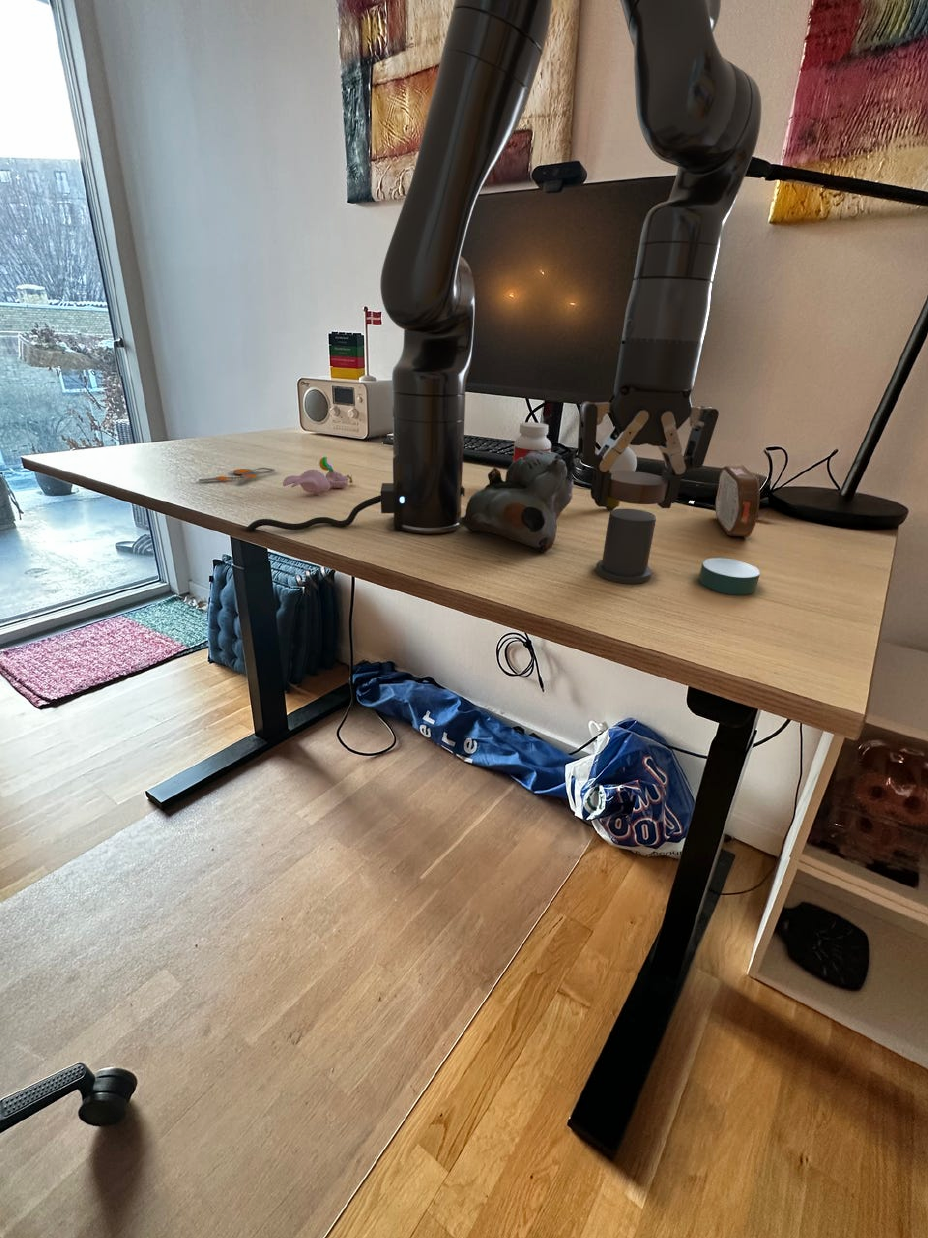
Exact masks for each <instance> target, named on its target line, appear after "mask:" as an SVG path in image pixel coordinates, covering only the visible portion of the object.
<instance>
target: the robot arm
mask: <svg viewBox="0 0 928 1238" xmlns="http://www.w3.org/2000/svg"><path fill="white" fill-rule="evenodd" d="M619 1H620V4H621V8H622V12H623V16H624V20H625V23H626V27H627V31H628V34H629V37H630V40H631V43H632V46H633V49H634V52H633V53H634V55H633V56H634V57H633V59H634V60H633V71H634V89H635V107H636V115H637V116H636V117H637V121H638V125H639V128H640V131H641V134H642V136H643V138H644V141H645V143H646V145H647V146H648V148H649V150H650V151H651V152H652V154H654V155H655V157H656V158H658V159H660V160H661V161H663V162H665V163H668V164H670V165H673V166H676V167H677V172H676V174H675V175H676V176H675V179H674V182H673V185H672V189H671V192H670V193H669V196H668V199H667V201H664V202H661V203H658V204H657V205H655V206H653V207H652V208H651V209H650V210H649V211H648V212H647V213H646V216H645V217H644V220H643V223H642V226H641V230H640V236H639V242H638V249H637V255H636V261H635V268H634V274H633V281H632V285H631V289H630V293H629V296H628V300H627V304H626V309H625V315H624V322H623V328H622V334H621V340H620V346H619V354H618V361H617V366H616V367H617V368H616V372H615V380H614V388H613V392H612V394H611V395H610V397H609V399H608V400H607V401H603V402H592V401H588V400H585V401H582V402H581V403H580V405H579V414H578V416H579V417H578V418H579V419H578V437H577V438H578V439H577V458H578V459H579V460H580V461H581V462H582V463H583V464H585V465H586V466H590V467H592V468H593V472H592V479H591V485H590V486H591V488H590V497H591V499H592V500H593V501H594V503H595V505H596V506H597V507H602V508H606V504H607V499H608V492H609V486H610V480H611V474H612V473H611V472H610V471H609V469H610V468H611V466H612V465H613V464H614V462H615V461H616V459H617V458H618V456H619V455H620V454H622V453H623V452H624V451H625V450H626V448H627V447H629V445H631V446H641V445H646V444H647V445H650V446H653V447H657V448H658V449H659V451H660V452H661V456H662V458H663V462H664V465H665V468H666V469H663V470H662V474H661V477H664V478H666V479H667V480H668V487H667V492H666V496H665V500H664V501H663V502H661V503H656V504H657V506H659V507H660V508H662V509H670V508H671V506H672V504H675V503H676V501H677V499H678V496H679V491H680V486H681V482H682V477H683V475H684V473H685V472H687V471H689V470H693V469H696V470H697V469H700V468H702V467H703V465H704V462H705V459H706V456H707V453H708V450H709V447H710V444H711V441H712V438H713V435H714V431H715V428H716V425H717V423H718V422H717V421H718V419H719V416H720V415H719V414H720V413H719V411H718V409H716V408H713V407H709V406H705V405H701V406H695V405H694V406H693V404H692V401H691V394H692V391H693V389H694V385H695V381H696V376H697V372H698V371H697V370H698V366H699V361H700V356H701V352H702V348H703V347H702V346H703V343H704V342H703V341H704V337H705V335H706V333H707V329H708V326H707V323H708V318H709V313H710V305H711V293H712V287H713V281H714V277H715V276H714V275H715V271H716V267H717V262H718V257H719V252H720V247H721V242H722V241H721V240H722V235H723V230H724V227H725V224H726V222H727V219H728V217H729V215H730V213H731V211H732V209H733V206H734V204H735V202H736V200H737V197H738V195H739V192H740V189H741V187H742V184H743V182H744V179H745V178H746V175H747V171H748V169H749V166H750V164H751V161H752V159H753V156H754V153H755V150H756V147H757V142H758V139H759V134H760V130H761V123H762V97H761V92H760V89H759V86H758V84H757V82H756V81H755V80H754V78H753V77H752V76H751V75H750V74H748V73H747V72H746V71H745V70H743V69H741V68H740V67H738V65H735V64H733V62H731V61H729V60H727V58H725V57H724V56H722V53H721V52H720V49H719V47H718V45H717V42H716V39H715V36H714V31H715V29H716V27H717V24H718V23H719V22H718V21H719V18H720V15H721V7H722V0H619ZM552 5H553V0H454V3H453V6H452V11H451V14H450V20H449V23H448V27H447V32H446V35H445V40H444V44H443V46H442V47H443V48H442V51H441V55H440V61H439V64H438V70H437V74H436V79H435V83H434V88H433V92H432V95H431V99H430V103H429V108H428V111H427V116H426V119H425V123H424V127H423V131H422V136H421V139H420V144H419V149H418V153H417V157H416V162H415V164H414V170H413V173H412V177H411V180H410V183H409V186H408V189H407V192H406V196H405V198H404V201H403V204H402V207H401V211H400V212H399V216H398V219H397V222H396V225H395V227H394V230H393V233H392V235H391V239H390V241H389V245H388V248H387V250H386V253H385V257H384V260H383V264H382V267H381V273H380V280H379V281H380V282H379V285H380V286H379V288H380V296H381V301H382V302H381V303H382V305H383V308H384V310H385V313H386V314H387V316H388V317H389V319H390V320H391V321H392V322H393V323H394V324H395V325H396V326H397V327H398V328H401V329H403V331H404V332H403V348H402V350H401V351H402V352H401V355H400V357H399V359H398V361H397V362H396V364H395V365H394V367H393V368H392V372H391V391H392V392H391V393H392V394H391V395H392V442H393V443H392V446H393V447H392V448H393V449H392V450H393V451H392V453H393V456H392V482H381V487H380V494H379V495H377V496H374V497H372V498H368V499H366V500H364V501H362V502H360V503H359V504H357V505H355V506H354V507H353V508H352V510H351V511H350V512H349V515H348V516H347V518H346V519H343V520H338V519H334V518H331V517H327V516H319V517H314V518H311V519H308V520H306V521H304V522H299V523H298V522H297V523H289V522H284V521H280V520H276V519H273V518H272V519H271V518H260V519H256V520H254V521H253V522H251V523H250V524H249V525H248V526H247V527H246V528H245V530H244V532H246V533H249V532H253V531H255V530H256V529H258V528H260V527H264V526H265V527H272V528H273V527H274V528H277V529H281V530H286V531H302V530H305V529H309V528H311V527H313V526H315V525H320V524H321V525H322V524H327V525H331V526H334V527H337V528H345V527H348V526H350V525H351V524H352V523H353V522H354V521H355V519H356V517H357V515H358V514H359V513H360V512H362V510H364V509H366V508H368V507H370V506H373V505H376V504H379V503H380V513H381V514H393V530H395V531H404V532H408V533H415V534H424V535H425V534H426V535H434V534H437V535H438V534H445V533H450V532H454V531H456V530H458V529H460V528H461V526H462V525H460V524H459V523H458V520H459V519H460V518H461V517H462V499H463V497H465V487H464V486H463V473H464V472H463V470H464V443H465V441H464V440H465V416H466V386H467V378H468V375H469V372H470V369H471V365H472V358H473V357H472V356H473V343H474V330H475V329H474V328H475V315H476V314H475V312H476V287H475V281H474V280H475V279H474V276H473V272H472V270H471V267H470V265H469V263H468V262H467V260H465V258H464V257H463V256H462V251H463V248H464V243H465V239H466V237H467V236H466V235H467V231H468V228H469V224H470V220H471V218H472V214H473V212H474V208H475V205H476V202H477V200H478V198H479V196H480V193H481V191H482V189H483V187H484V186H485V184H486V182H487V180H488V178H489V176H490V174H491V173H492V171H493V170H494V168H495V166H496V165H497V163H498V161H499V160H500V158H501V156H502V154H503V153H504V151H505V149H506V148H507V146H508V144H509V143H510V141H511V139H512V137H513V135H514V134H515V131H516V130H517V128H518V126H519V124H520V121H521V118H522V117H523V114H524V111H525V109H526V106H527V103H528V100H529V98H530V95H531V92H532V88H533V85H534V81H535V79H536V75H537V73H538V70H539V66H540V63H541V59H542V56H543V53H544V50H545V47H546V43H547V38H548V34H549V30H550V24H551V23H550V22H551V15H552ZM606 415H608V417H609V418H610V421H611V422H612V424H613V427H612V429H611V430H610V431H609V433H608V434H607V436H606V437H605V439H604V441H603V444H602V446H601V447H600V449H599V451H598V452H597V453H596V449H597V448H596V447H597V431H598V426H599V425H601V424H602V423H603V421H604V417H605V416H606ZM688 419H689V427H690V428H691V429H690V433H689V437H688V440H687V443H686V446H685V449H684V453H682V452H683V447H682V444H681V443H682V442H681V440H680V436H679V433H678V430H679V429H680V428H681V427H682V426H683V425H684V424H685V422H686V421H687V420H688Z"/></svg>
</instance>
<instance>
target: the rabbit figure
mask: <svg viewBox="0 0 928 1238" xmlns="http://www.w3.org/2000/svg"><path fill="white" fill-rule="evenodd" d="M327 460H328V457H327V456H323V457H321V458H320V459H319V462H318V465H319V468H320V469H321V470H323V471H326V472H327V473H326V474H324V473H323V472H321V471H320V470H318V469H317V470H316V469H309V470H306V471H304V472H302V473H301V474H299V475H289V476H286V477H285V478H284V479H283V482H282V486H283V487H287V486H290V488H294V487H295V488H296V487H297V486H300V487H301V488H302V490H303V491H305V492H307V493H310V494H311V493H313V496H317V495H318V496H321V495H322V494H323V493H326V492H328V491H329V490H330V489H331V488H332V489H345V488H346V487H347V486H348V484H350V486H352V485H354V481H353V477H352V476H353V474H346V475H343V474H342V473H341V472H338V471H336V470H334V468H333V467H332V466H331V464H329V463H328V461H327Z"/></svg>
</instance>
